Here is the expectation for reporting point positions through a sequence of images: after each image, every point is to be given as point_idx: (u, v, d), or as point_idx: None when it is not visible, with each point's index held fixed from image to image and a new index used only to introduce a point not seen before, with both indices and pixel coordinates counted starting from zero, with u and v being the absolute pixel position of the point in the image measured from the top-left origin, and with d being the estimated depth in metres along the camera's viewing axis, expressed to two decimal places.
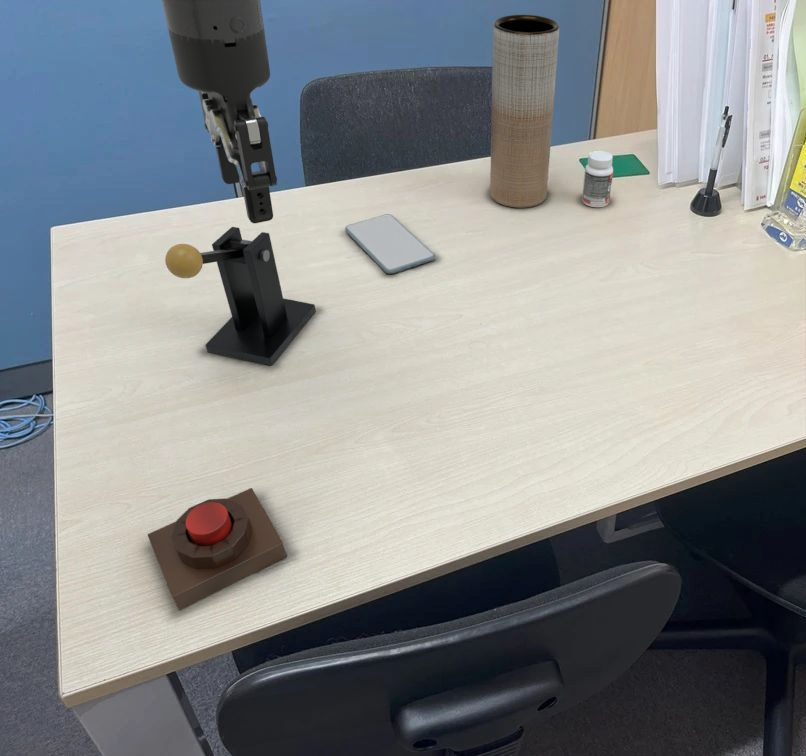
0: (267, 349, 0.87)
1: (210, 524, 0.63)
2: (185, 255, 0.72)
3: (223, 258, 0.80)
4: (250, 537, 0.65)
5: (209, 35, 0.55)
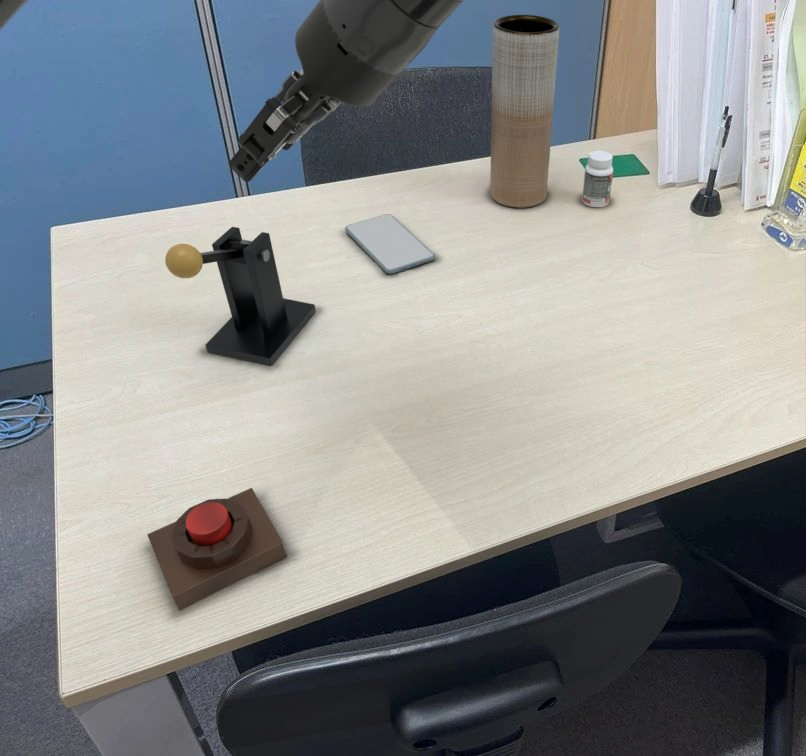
0: (267, 349, 0.87)
1: (210, 524, 0.63)
2: (185, 255, 0.72)
3: (223, 258, 0.80)
4: (250, 537, 0.65)
5: (335, 25, 0.50)
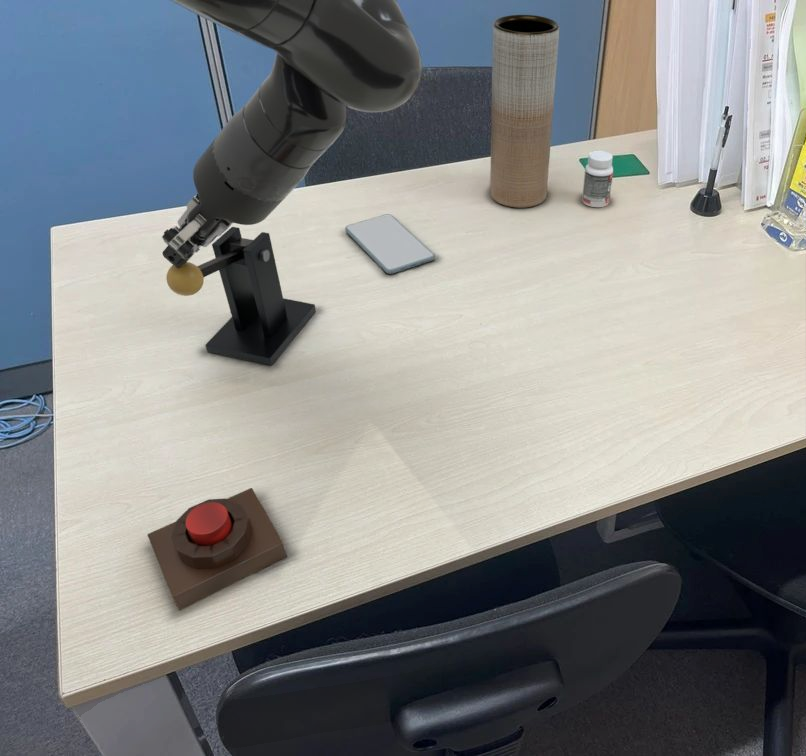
0: (267, 349, 0.87)
1: (210, 524, 0.63)
2: (185, 275, 0.73)
3: (223, 265, 0.80)
4: (250, 537, 0.65)
5: (221, 167, 0.60)
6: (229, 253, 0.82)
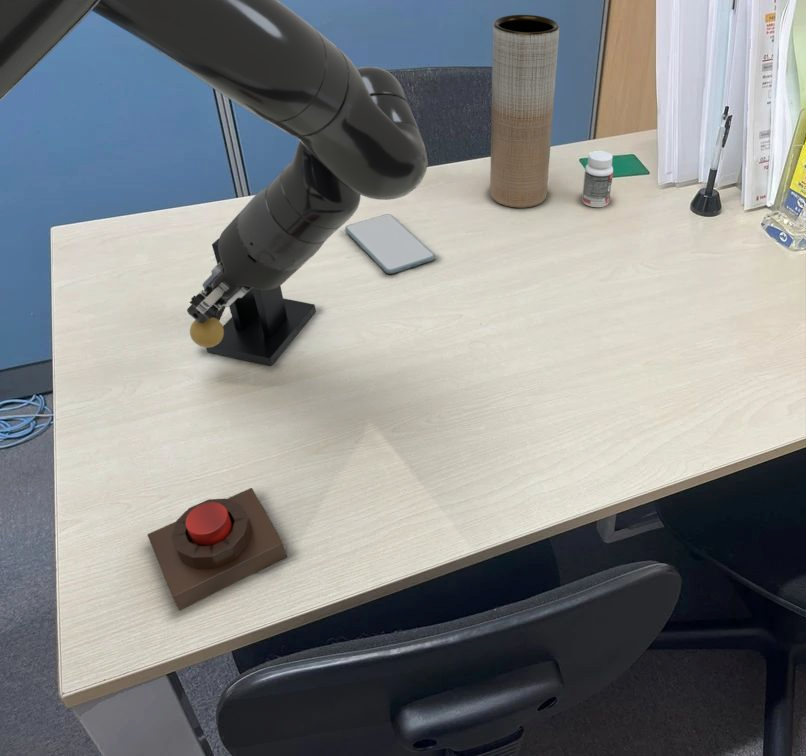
0: (267, 349, 0.87)
1: (210, 524, 0.63)
2: (207, 338, 0.79)
3: None
4: (250, 537, 0.65)
5: (245, 242, 0.65)
6: None
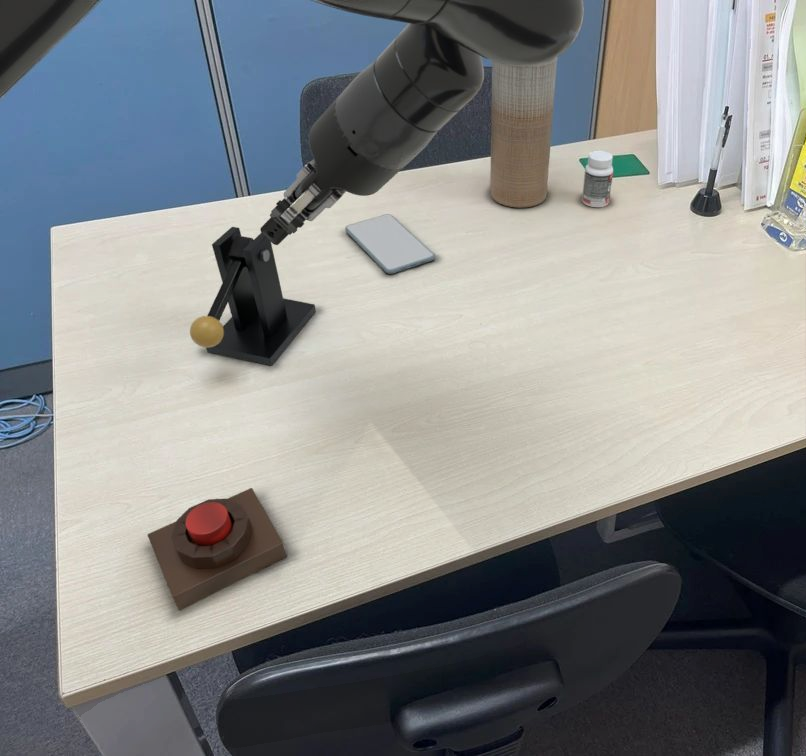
0: (267, 349, 0.87)
1: (210, 524, 0.63)
2: (207, 338, 0.79)
3: (233, 288, 0.83)
4: (250, 537, 0.65)
5: (346, 130, 0.55)
6: (232, 268, 0.83)
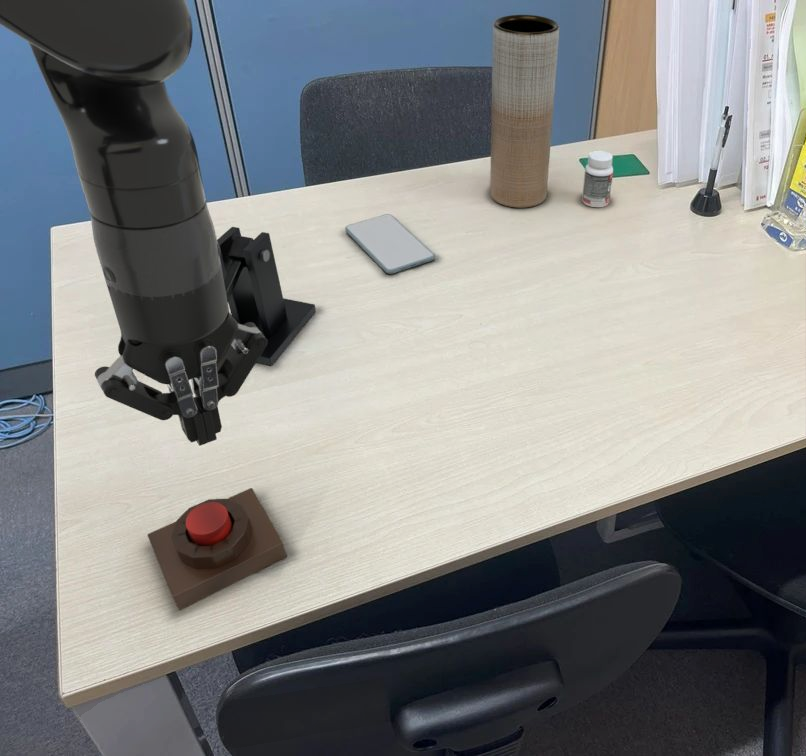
0: (267, 349, 0.87)
1: (210, 524, 0.63)
2: None
3: (233, 288, 0.83)
4: (250, 537, 0.65)
5: None
6: (232, 268, 0.83)
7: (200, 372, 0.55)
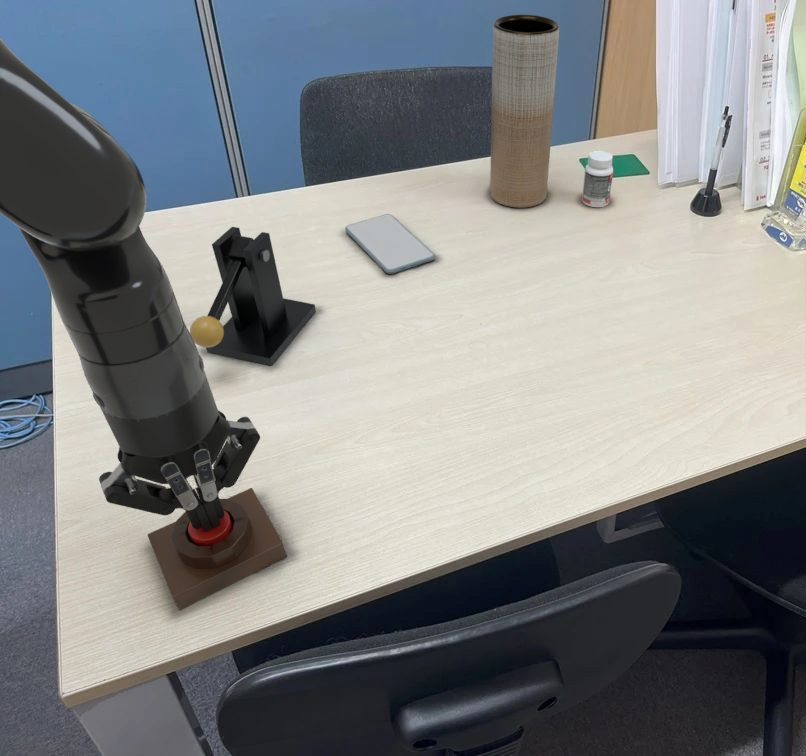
0: (267, 349, 0.87)
1: (212, 529, 0.63)
2: (207, 338, 0.79)
3: (233, 288, 0.83)
4: (250, 537, 0.65)
5: None
6: (232, 268, 0.83)
7: (196, 471, 0.58)
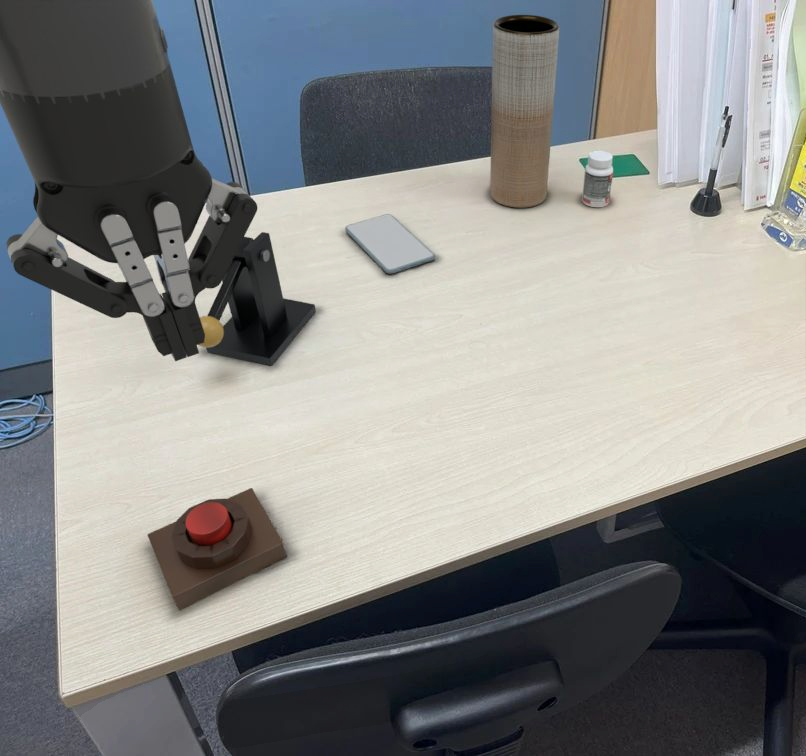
0: (267, 349, 0.87)
1: (210, 524, 0.63)
2: (207, 338, 0.79)
3: (233, 288, 0.83)
4: (250, 537, 0.65)
5: None
6: (232, 268, 0.83)
7: (160, 245, 0.38)
